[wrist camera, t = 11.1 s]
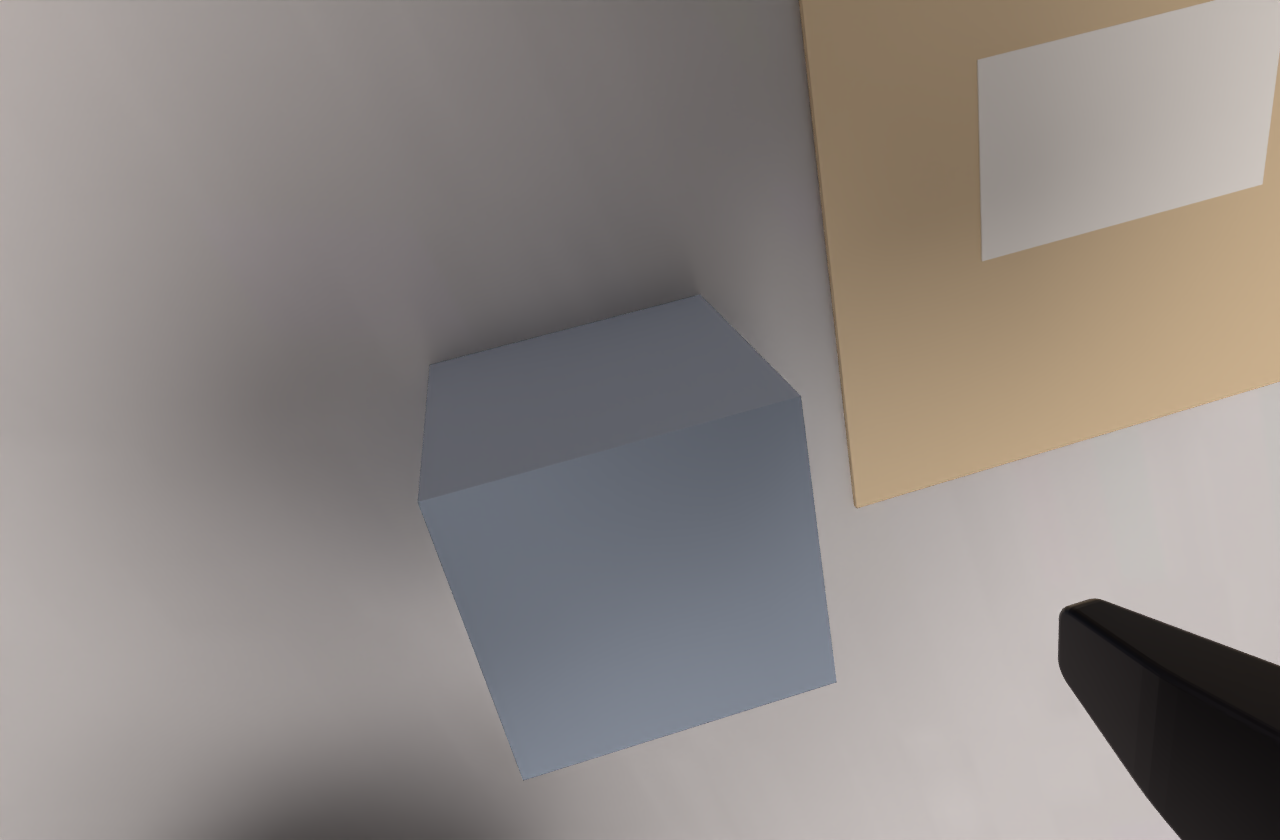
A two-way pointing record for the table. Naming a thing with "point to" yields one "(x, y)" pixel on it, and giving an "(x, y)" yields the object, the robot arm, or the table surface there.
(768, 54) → the table surface
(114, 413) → the table surface
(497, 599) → the slate-blue cube
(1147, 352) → the kraft envelope
